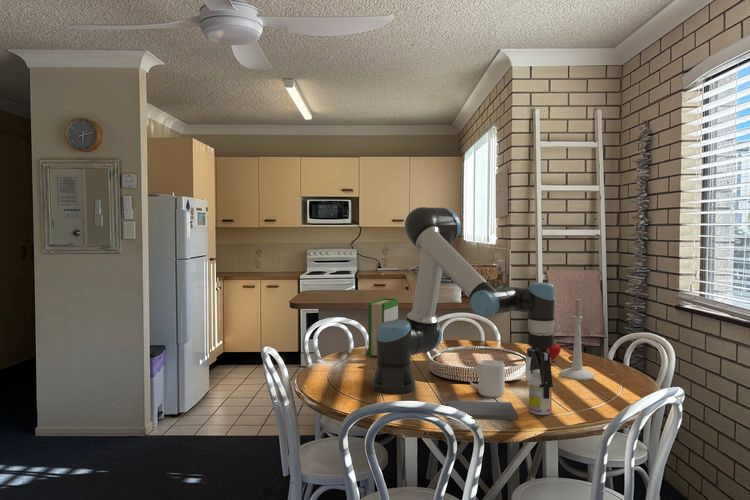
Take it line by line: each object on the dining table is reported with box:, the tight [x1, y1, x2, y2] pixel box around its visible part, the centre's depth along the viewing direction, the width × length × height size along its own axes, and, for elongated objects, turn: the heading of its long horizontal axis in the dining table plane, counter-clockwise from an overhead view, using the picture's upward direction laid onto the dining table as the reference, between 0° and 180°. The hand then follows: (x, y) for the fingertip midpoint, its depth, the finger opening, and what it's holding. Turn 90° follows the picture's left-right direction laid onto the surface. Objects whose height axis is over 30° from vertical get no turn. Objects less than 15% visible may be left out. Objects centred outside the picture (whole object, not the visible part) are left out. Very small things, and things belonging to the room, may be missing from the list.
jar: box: [525, 346, 552, 383], centre depth 211 cm, size 9×8×12 cm
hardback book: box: [367, 297, 399, 358], centre depth 257 cm, size 18×7×24 cm, turn 158°
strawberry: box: [547, 341, 562, 362], centre depth 244 cm, size 6×8×10 cm
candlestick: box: [559, 298, 596, 381], centre depth 219 cm, size 13×13×30 cm
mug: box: [468, 359, 506, 398], centre depth 195 cm, size 9×12×11 cm
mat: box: [447, 400, 519, 421], centre depth 176 cm, size 20×13×1 cm, turn 86°
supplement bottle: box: [528, 369, 553, 416], centre depth 175 cm, size 7×7×13 cm
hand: (540, 401), depth 175 cm, fingers open, 13 cm apart
